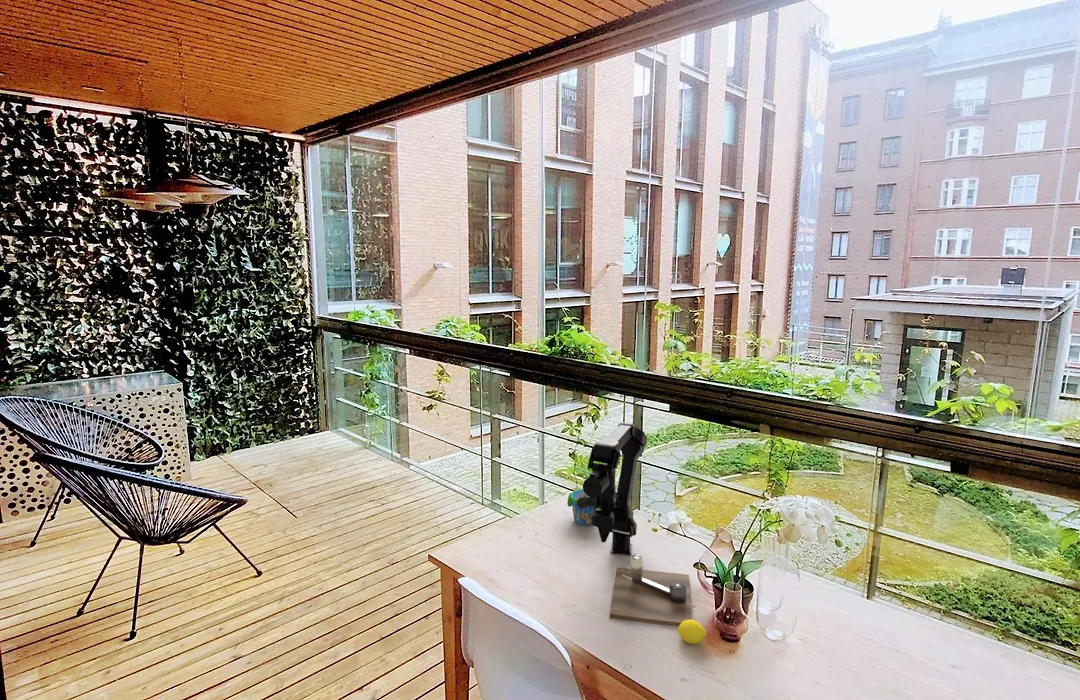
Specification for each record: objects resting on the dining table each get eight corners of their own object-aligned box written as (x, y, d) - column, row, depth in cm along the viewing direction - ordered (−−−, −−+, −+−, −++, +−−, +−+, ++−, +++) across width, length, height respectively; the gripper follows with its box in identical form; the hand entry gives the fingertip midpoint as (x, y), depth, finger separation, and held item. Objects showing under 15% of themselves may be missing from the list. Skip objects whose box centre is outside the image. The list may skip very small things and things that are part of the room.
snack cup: (610, 525, 199) (611, 498, 198) (587, 534, 193) (588, 506, 192) (582, 510, 212) (582, 484, 210) (560, 517, 206) (559, 491, 204)
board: (616, 571, 171) (616, 567, 171) (688, 578, 167) (688, 574, 166) (609, 618, 149) (609, 613, 149) (692, 628, 145) (692, 623, 144)
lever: (688, 597, 155) (689, 573, 154) (681, 604, 152) (681, 580, 150) (635, 575, 166) (636, 552, 165) (627, 581, 162) (627, 558, 161)
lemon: (677, 647, 139) (674, 626, 138) (680, 633, 144) (678, 613, 143) (706, 650, 136) (704, 629, 135) (708, 636, 141) (706, 616, 140)
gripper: (582, 471, 177) (582, 518, 179) (573, 495, 159) (573, 547, 161) (618, 473, 175) (617, 521, 177) (613, 498, 157) (612, 551, 159)
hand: (605, 534), depth 169 cm, fingers open, 9 cm apart
